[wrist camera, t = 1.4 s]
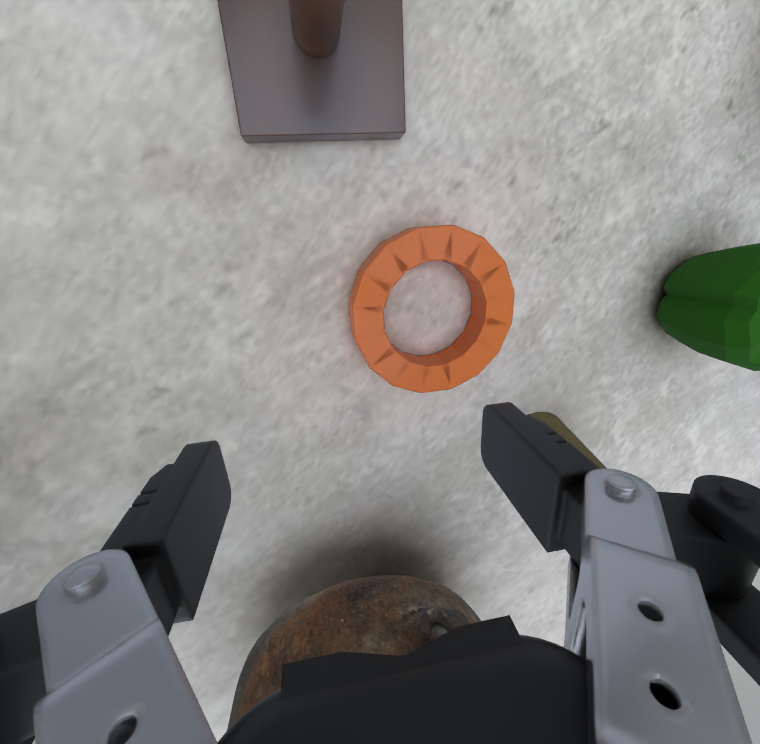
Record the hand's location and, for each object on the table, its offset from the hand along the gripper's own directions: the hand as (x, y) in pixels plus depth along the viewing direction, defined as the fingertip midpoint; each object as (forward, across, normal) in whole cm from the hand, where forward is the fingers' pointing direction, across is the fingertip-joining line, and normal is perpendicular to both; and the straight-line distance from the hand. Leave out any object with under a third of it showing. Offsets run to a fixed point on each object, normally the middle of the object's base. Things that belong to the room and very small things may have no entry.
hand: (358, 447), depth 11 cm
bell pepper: (+16, -29, 0) cm, 33 cm away
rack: (+15, 0, -16) cm, 22 cm away
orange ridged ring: (+15, -7, -1) cm, 17 cm away
